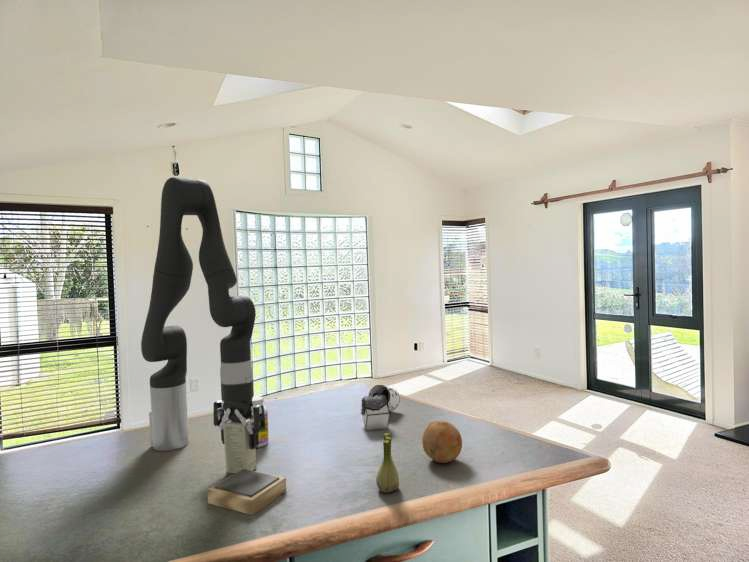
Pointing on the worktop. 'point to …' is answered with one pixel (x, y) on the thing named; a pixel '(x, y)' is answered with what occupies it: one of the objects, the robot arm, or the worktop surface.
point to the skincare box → (238, 448)
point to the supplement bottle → (264, 433)
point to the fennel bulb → (387, 469)
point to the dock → (246, 491)
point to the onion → (442, 441)
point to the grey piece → (379, 407)
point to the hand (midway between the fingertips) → (240, 445)
